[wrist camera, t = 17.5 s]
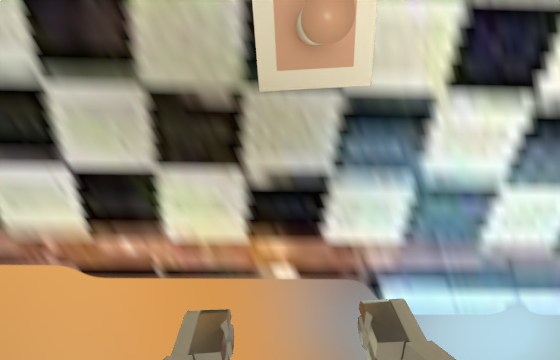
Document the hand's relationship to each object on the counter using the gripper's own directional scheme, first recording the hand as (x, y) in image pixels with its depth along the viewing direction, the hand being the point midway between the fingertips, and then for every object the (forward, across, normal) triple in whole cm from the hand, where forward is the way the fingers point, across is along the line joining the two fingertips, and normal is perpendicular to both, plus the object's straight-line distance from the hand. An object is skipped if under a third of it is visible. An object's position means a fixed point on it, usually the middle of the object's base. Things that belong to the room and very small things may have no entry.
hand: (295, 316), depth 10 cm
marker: (+24, -4, -11) cm, 27 cm away
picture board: (+25, -4, -11) cm, 28 cm away
